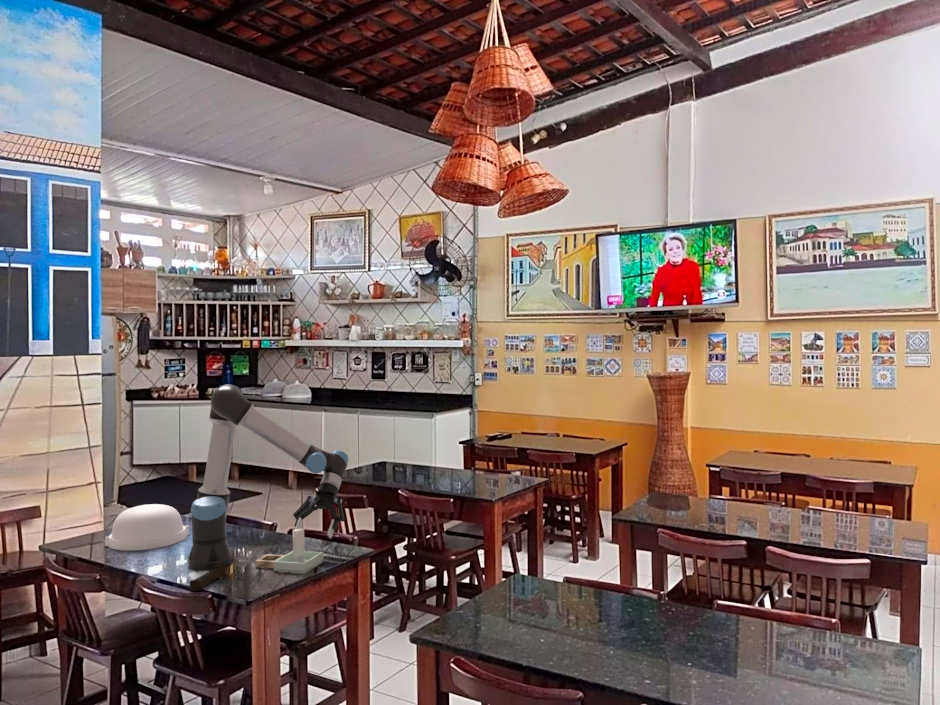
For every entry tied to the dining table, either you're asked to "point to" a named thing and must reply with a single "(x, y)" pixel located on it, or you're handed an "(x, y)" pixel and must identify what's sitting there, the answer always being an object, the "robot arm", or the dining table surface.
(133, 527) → the dome cover
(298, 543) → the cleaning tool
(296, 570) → the tray
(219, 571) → the hand tool
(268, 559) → the slotted holder
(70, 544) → the dining table surface
